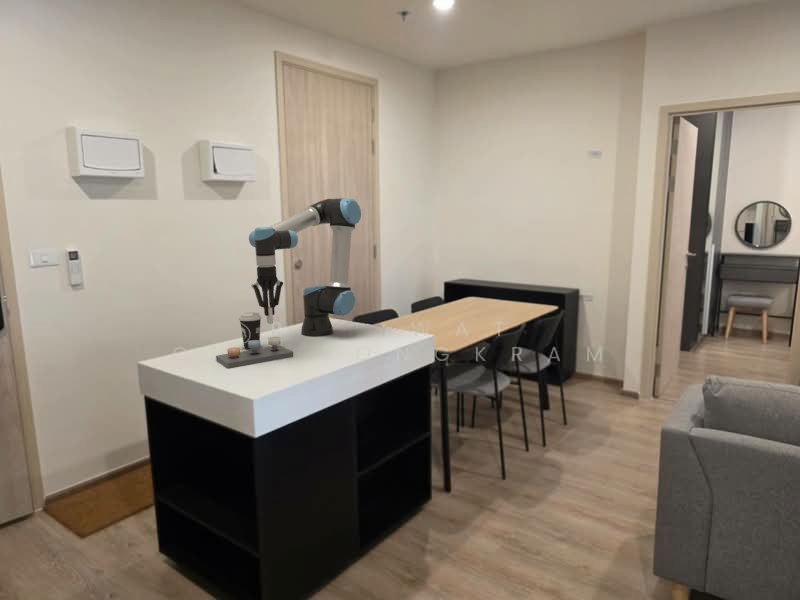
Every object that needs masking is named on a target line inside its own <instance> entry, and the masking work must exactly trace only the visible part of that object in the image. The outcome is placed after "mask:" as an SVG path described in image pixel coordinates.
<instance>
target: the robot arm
mask: <svg viewBox="0 0 800 600" xmlns="http://www.w3.org/2000/svg"><path fill="white" fill-rule="evenodd" d="M360 207H361V206H360V205H359V204H358V202H357V201H356V199H354V198H349V197H348V198H347V197H343V198H340V197H339V198H326V199H323V200H320V201H318V202H315V203H312V204H311V205H309V206H306V207H305V208H304V210H303V211H300V212H298V213H296V214H295V215H291V216H290V217H288V218H285V219H282V220H281V221H279V222H277V223H274V224H273V225H270V226H263V227H262V226H261V227H259V226H258V227H256V228H254V230H252V231H251V232H250V233H249V235H248V242H249V244H250V246H252V247H253V248H255V259H256V260H255V261H256V266H257V267H256V275H257V277H256V278H257V279H256V282H255V283H251V285H250V286H251V288H252V289H253V291H254V294H255V296H256V299H257V303H258V306H259V307H261V308H263V313H264V316H266V322H267V324H269V325H272V324H274V317H273V316H274V315H275V313H276V311H275V308H276V306H278V305H279V303H280V297H281V293H282V287H283V286H284V282H283V281H281V280H279V279H278V277H277V267H276V264H277V263H276V262H277V261H276V251H277V250H278V251H279V250H289V249H294V248H295V247H297V245H298V242H299V236H298V235H297V233H299V232H302V231H303V230H305V229H307V228H309V227H311V226H312V227H316V226H319V225H324V224H329V228H330V229H331V230H332V237H331V238H332V241H331V255H330V270H329V271H330V272H329V282H328V283H327V284H322V285H321V284H320V285H313V286H307V287H305V288H304V289H303V298H302V299H303V311H304V312H303V313H304V317H303V322H302V325H301V331H300V332H301V335H303V336H306V337H323V336H328V335H331V334H333V333H334V330H333V329H334V327H333V326H332V322H331V319H330V317H329V316H330V315H335V316H347V315H349V314H350V313H351V312H352V311H353V309H354V307H355V304H356V296H355V294H354V292H352V291H351V290H352V289H351V288H352V286H351V285H350V284H349V273H350V256H351V245H352V244H351V242H352V239H351V238H352V232H354V230H355V229H356V225H357V224H358V223H359V222H360V221H361V218H362V210H361V208H360ZM275 286H276V287H275ZM259 287H261V292H262V293H261V292H260V289H259ZM274 288H275V289H274ZM274 291H275V292H274Z"/></svg>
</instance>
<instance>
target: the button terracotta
mask: <svg viewBox="0 0 800 600" xmlns="http://www.w3.org/2000/svg"><path fill="white" fill-rule="evenodd" d="M226 351H227V354H228V356H231V359H234V358H237V356H239V355H240V352H241V348H240V347H238V346H237V347H229V348H227V350H226Z"/></svg>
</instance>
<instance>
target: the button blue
mask: <svg viewBox="0 0 800 600" xmlns="http://www.w3.org/2000/svg"><path fill="white" fill-rule="evenodd" d="M261 344H262V343H261V339H260V340H250V341H248V348H251V349H252V352H258V349H260V348H262V345H261Z"/></svg>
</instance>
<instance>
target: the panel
mask: <svg viewBox="0 0 800 600" xmlns="http://www.w3.org/2000/svg"><path fill="white" fill-rule="evenodd" d="M277 347H278V348H277V349H272V347H271V346H267V347H260V348H258V352H252V350H248V349H247V350H244V351H243V350H240V355H239V356H237V358H234V359H231V356H228V353H223V354H217V355H215V361H216V362H218V363H219V364H221V365H223V366H224V368H226V369H231V368H238V367H244V366H249V365H255V364H261V363H265V362H272V361H276V360H282V359H287V358H294V351H293V350H290V349H287V348H286V347H283V346H281V345H280V344H279V345H277Z"/></svg>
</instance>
